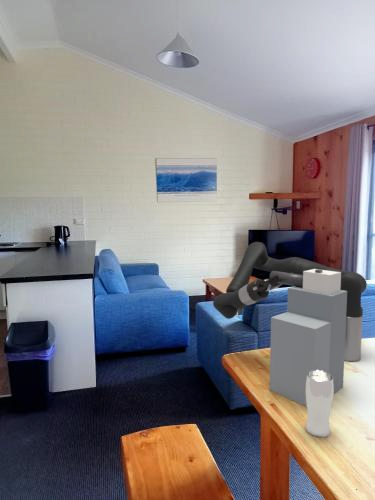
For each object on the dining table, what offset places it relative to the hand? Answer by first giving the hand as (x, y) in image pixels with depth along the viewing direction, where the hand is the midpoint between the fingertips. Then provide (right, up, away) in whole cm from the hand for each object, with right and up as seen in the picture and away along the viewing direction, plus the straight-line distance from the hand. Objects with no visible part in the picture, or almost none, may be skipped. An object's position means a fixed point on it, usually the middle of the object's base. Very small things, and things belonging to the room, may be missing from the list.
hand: (285, 276), depth 122 cm
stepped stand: (+5, -36, -8) cm, 37 cm away
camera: (+4, -3, -4) cm, 7 cm away
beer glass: (0, -39, -29) cm, 48 cm away
